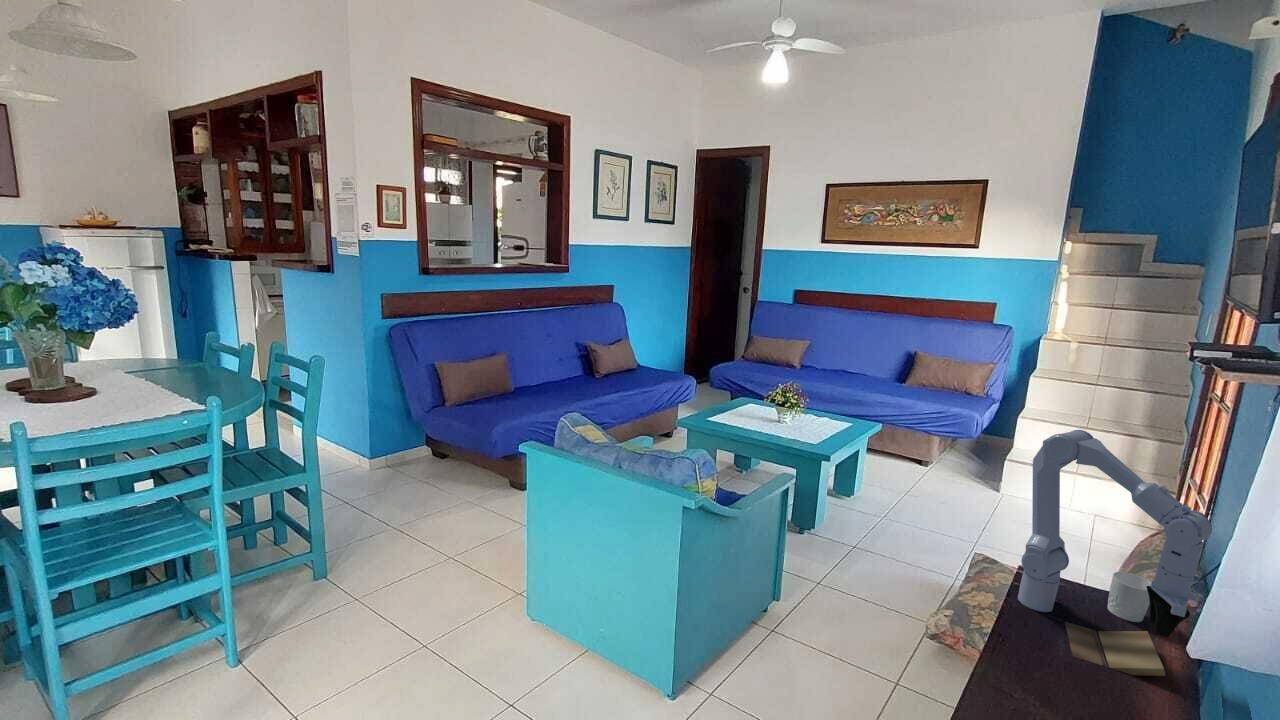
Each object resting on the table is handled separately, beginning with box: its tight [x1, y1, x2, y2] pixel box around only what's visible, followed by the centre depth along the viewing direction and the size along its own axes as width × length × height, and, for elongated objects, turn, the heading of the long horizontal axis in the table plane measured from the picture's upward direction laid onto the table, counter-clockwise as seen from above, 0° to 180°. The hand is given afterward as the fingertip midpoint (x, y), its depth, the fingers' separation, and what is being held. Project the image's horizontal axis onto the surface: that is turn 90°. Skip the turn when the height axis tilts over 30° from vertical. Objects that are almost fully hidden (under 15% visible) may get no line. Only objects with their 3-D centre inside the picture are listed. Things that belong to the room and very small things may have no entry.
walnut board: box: [1064, 621, 1108, 668], centre depth 139 cm, size 14×6×2 cm, turn 153°
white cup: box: [1107, 571, 1152, 623], centre depth 151 cm, size 8×8×10 cm
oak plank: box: [1097, 630, 1167, 677], centre depth 135 cm, size 14×9×2 cm, turn 153°
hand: (1158, 629), depth 132 cm, fingers open, 4 cm apart
